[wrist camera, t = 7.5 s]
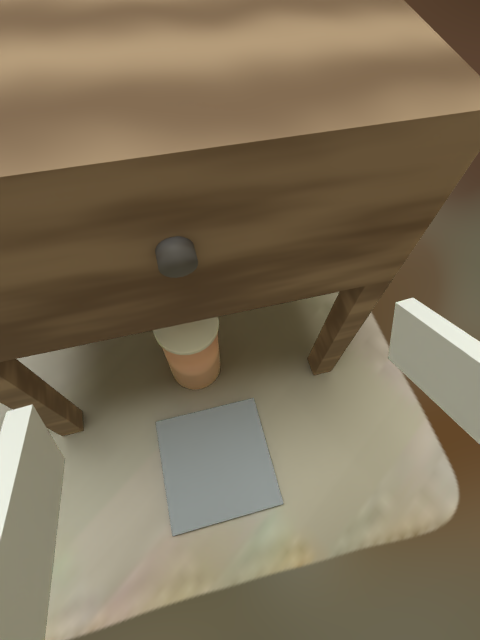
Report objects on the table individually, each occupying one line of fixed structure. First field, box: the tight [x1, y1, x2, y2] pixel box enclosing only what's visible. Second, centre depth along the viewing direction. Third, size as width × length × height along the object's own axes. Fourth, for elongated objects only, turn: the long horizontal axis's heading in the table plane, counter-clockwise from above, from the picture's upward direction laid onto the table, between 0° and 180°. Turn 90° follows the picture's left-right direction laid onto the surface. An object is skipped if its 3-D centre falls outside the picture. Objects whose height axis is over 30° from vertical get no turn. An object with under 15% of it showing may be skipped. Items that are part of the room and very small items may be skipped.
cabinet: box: [0, 0, 480, 436], centre depth 29 cm, size 19×28×29 cm
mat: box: [156, 398, 283, 536], centre depth 35 cm, size 10×10×1 cm
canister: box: [153, 317, 220, 390], centre depth 36 cm, size 6×6×10 cm
